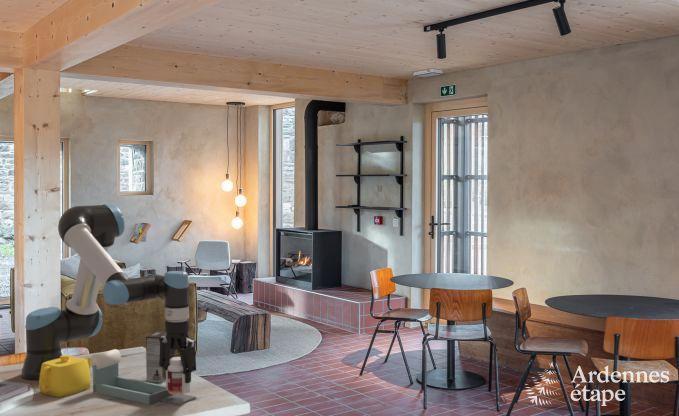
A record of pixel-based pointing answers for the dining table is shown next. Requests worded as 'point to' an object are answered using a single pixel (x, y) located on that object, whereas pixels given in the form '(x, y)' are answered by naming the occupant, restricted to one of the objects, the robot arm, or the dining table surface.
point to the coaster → (177, 399)
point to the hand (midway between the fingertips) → (177, 390)
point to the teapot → (65, 376)
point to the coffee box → (154, 358)
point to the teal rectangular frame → (122, 381)
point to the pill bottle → (175, 376)
